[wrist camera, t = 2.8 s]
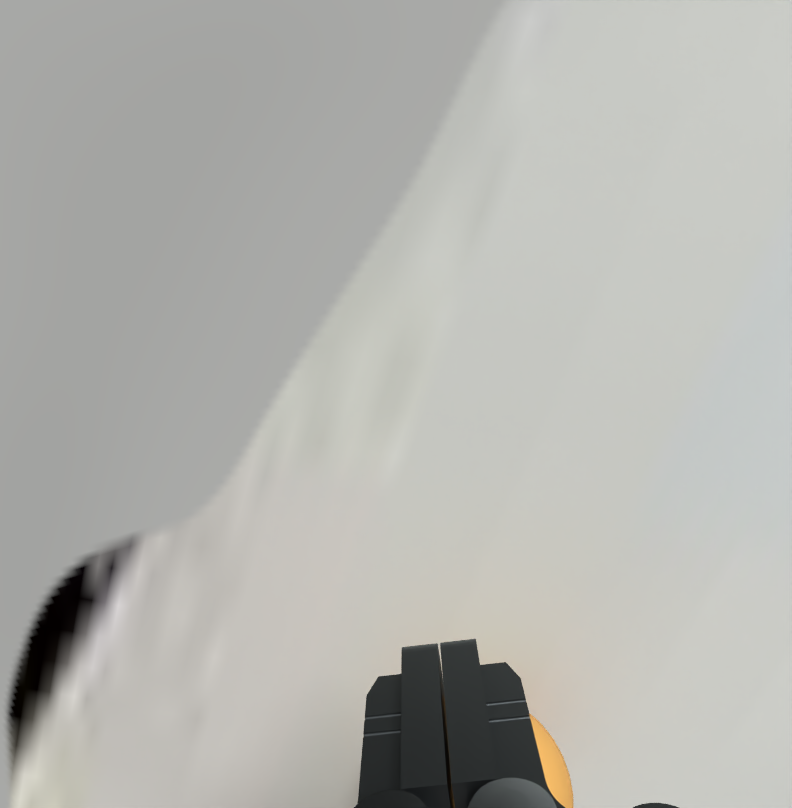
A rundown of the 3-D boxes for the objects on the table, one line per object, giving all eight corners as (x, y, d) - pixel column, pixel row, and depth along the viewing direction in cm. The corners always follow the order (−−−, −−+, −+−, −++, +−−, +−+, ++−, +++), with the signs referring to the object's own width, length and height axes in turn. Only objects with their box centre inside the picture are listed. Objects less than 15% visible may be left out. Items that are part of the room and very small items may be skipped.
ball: (546, 648, 24) (587, 784, 19) (559, 784, 26) (600, 948, 20) (380, 666, 25) (369, 804, 19) (403, 799, 26) (399, 963, 21)
